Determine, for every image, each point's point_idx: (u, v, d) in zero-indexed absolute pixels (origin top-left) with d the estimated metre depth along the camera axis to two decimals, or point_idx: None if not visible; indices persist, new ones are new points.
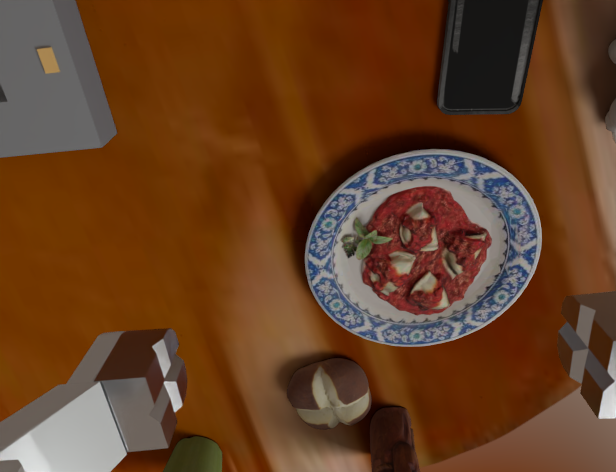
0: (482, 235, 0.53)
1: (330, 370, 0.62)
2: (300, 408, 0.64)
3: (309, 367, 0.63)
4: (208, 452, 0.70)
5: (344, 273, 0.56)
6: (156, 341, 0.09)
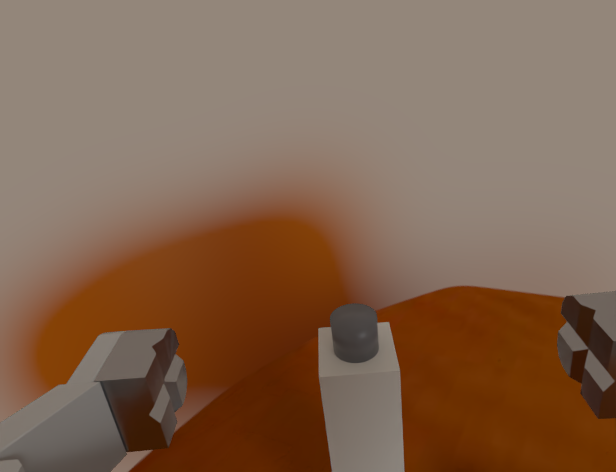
0: None
1: None
2: None
3: None
4: None
5: None
6: (157, 341, 0.09)
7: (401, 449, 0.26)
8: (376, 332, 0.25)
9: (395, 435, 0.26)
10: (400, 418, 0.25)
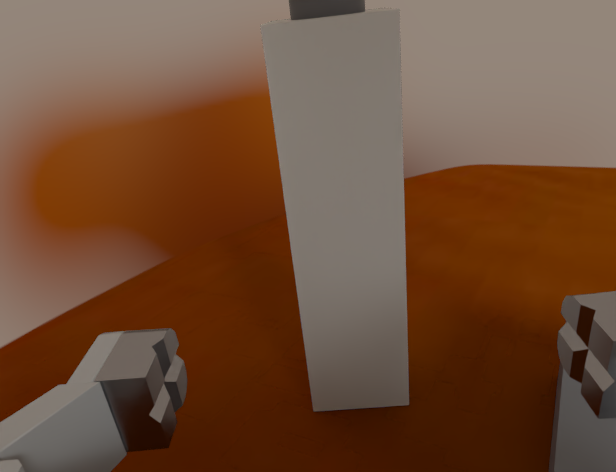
0: None
1: None
2: None
3: None
4: None
5: None
6: (157, 341, 0.09)
7: (400, 191, 0.16)
8: None
9: (391, 160, 0.16)
10: (399, 122, 0.15)
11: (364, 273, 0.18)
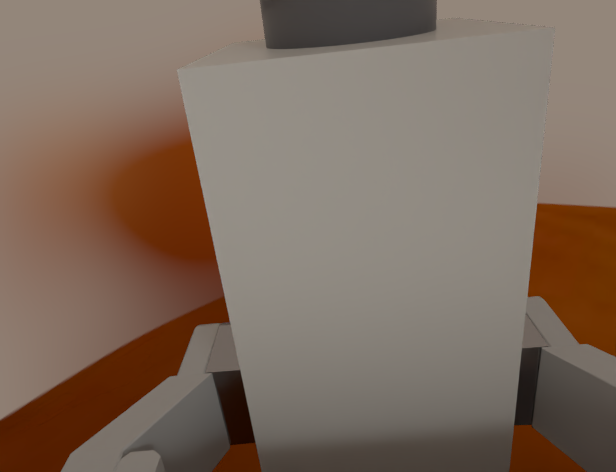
0: None
1: None
2: None
3: None
4: None
5: None
6: None
7: (507, 420, 0.07)
8: None
9: (492, 365, 0.07)
10: (521, 291, 0.06)
11: None
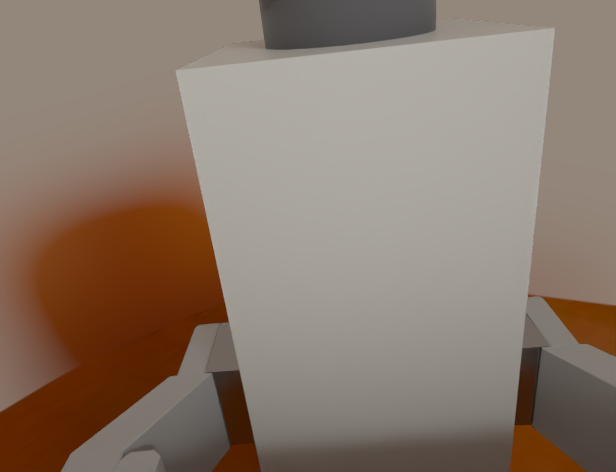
0: None
1: None
2: None
3: None
4: None
5: None
6: None
7: (507, 421, 0.07)
8: None
9: (493, 366, 0.07)
10: (521, 292, 0.06)
11: None
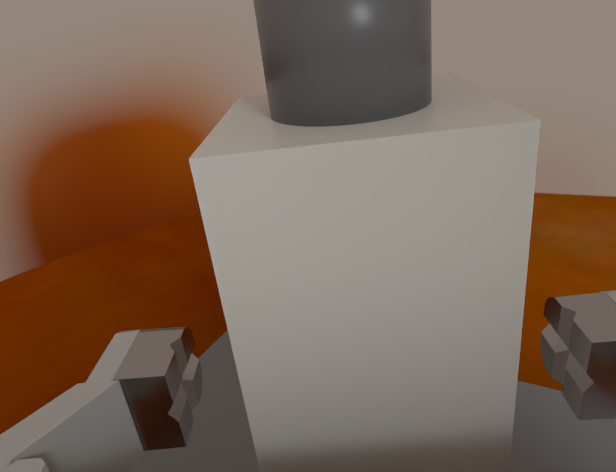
0: None
1: None
2: None
3: None
4: None
5: None
6: (174, 340, 0.09)
7: (503, 465, 0.08)
8: (428, 5, 0.06)
9: (488, 416, 0.07)
10: (514, 350, 0.07)
11: None
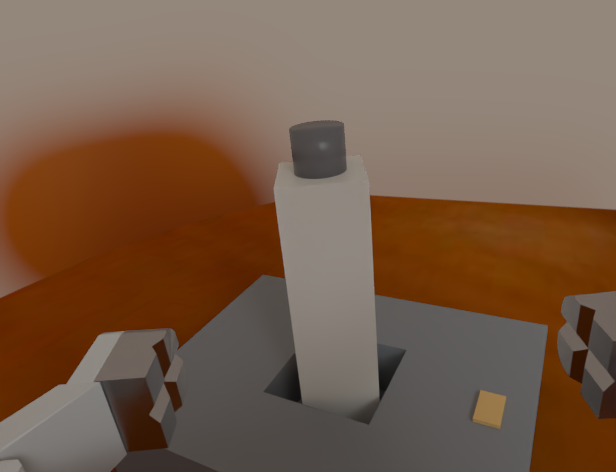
0: None
1: None
2: None
3: None
4: None
5: None
6: (156, 342, 0.09)
7: (372, 293, 0.22)
8: (343, 143, 0.21)
9: (365, 273, 0.22)
10: (370, 249, 0.21)
11: (346, 348, 0.24)
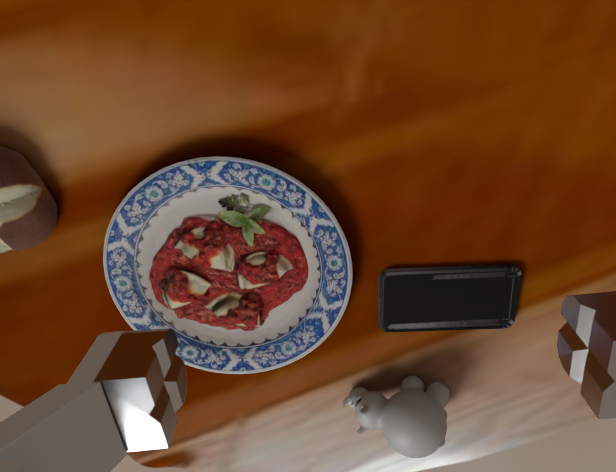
0: (259, 324, 0.54)
1: (42, 204, 0.47)
2: None
3: (34, 173, 0.47)
4: None
5: (196, 198, 0.48)
6: (156, 341, 0.09)
7: None
8: None
9: None
10: None
11: None
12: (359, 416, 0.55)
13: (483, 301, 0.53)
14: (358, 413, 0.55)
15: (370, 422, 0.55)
